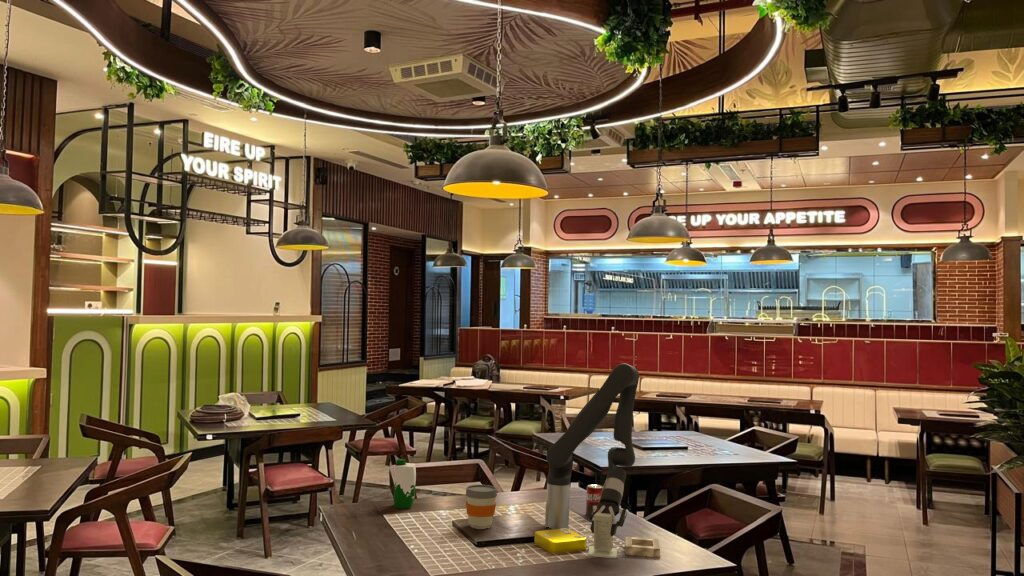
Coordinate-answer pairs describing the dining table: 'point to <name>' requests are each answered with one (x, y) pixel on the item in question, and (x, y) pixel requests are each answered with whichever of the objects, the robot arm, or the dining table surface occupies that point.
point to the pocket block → (642, 547)
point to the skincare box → (603, 531)
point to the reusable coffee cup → (480, 504)
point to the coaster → (602, 553)
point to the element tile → (560, 540)
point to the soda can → (593, 496)
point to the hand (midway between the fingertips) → (602, 533)
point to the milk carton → (404, 484)
